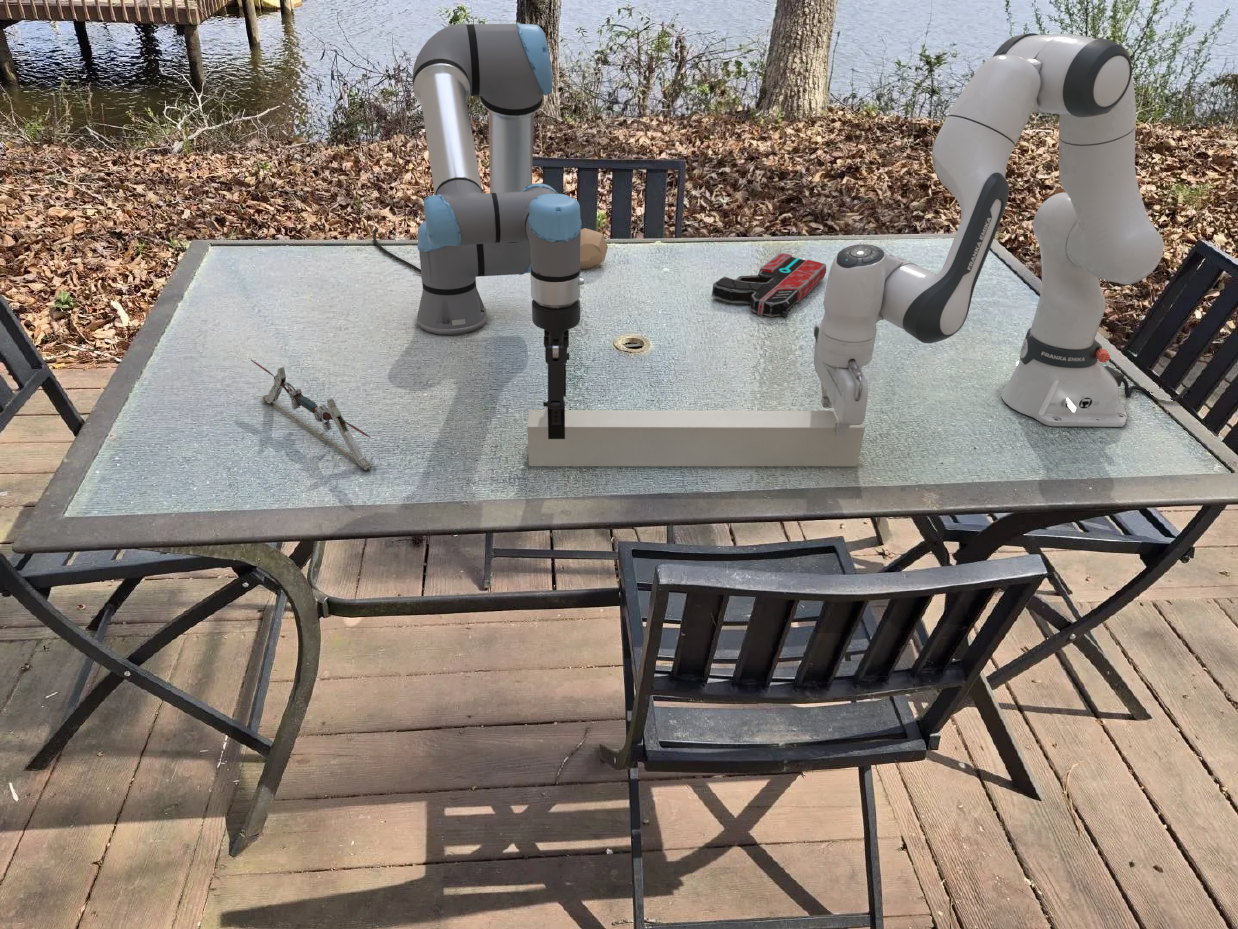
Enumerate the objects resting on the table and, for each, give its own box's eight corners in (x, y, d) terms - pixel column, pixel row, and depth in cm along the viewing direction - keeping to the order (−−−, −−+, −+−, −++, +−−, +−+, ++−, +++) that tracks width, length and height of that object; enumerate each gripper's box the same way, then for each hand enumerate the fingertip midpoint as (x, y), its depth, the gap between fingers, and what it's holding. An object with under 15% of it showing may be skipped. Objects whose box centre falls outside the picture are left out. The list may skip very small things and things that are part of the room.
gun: (708, 284, 207) (784, 305, 199) (760, 245, 229) (831, 262, 221) (706, 302, 209) (781, 323, 201) (758, 261, 231) (828, 278, 223)
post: (528, 466, 149) (527, 426, 145) (530, 448, 154) (528, 409, 150) (857, 466, 152) (865, 427, 148) (848, 449, 157) (856, 410, 152)
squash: (609, 272, 224) (605, 241, 218) (532, 279, 226) (525, 248, 219) (610, 251, 232) (605, 220, 226) (535, 258, 233) (529, 227, 227)
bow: (382, 473, 146) (374, 421, 141) (372, 477, 145) (364, 425, 140) (264, 393, 168) (253, 345, 162) (255, 396, 167) (243, 348, 161)
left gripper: (580, 335, 125) (579, 457, 138) (580, 267, 146) (579, 379, 158) (527, 335, 125) (531, 457, 137) (535, 267, 145) (537, 379, 158)
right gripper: (883, 377, 133) (868, 453, 141) (848, 320, 150) (836, 390, 158) (842, 377, 133) (829, 453, 141) (811, 320, 150) (802, 391, 158)
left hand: (557, 415), depth 148 cm, fingers open, 13 cm apart
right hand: (833, 419), depth 150 cm, fingers open, 8 cm apart
